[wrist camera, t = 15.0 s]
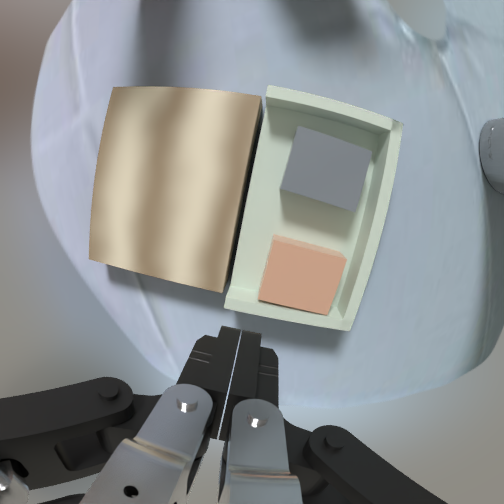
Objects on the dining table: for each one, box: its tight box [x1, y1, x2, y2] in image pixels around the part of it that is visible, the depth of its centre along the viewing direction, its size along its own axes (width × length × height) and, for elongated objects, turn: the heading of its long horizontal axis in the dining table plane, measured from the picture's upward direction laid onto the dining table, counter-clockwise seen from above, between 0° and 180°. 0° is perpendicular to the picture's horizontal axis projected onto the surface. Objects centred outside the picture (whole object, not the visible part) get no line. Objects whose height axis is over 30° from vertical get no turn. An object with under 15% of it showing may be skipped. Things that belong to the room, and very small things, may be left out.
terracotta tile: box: [258, 234, 347, 315], centre depth 23 cm, size 6×5×2 cm
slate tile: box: [279, 126, 372, 212], centre depth 21 cm, size 6×5×2 cm
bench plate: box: [89, 86, 262, 293], centre depth 24 cm, size 14×17×3 cm
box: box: [224, 85, 403, 331], centre depth 23 cm, size 11×18×5 cm, turn 169°
